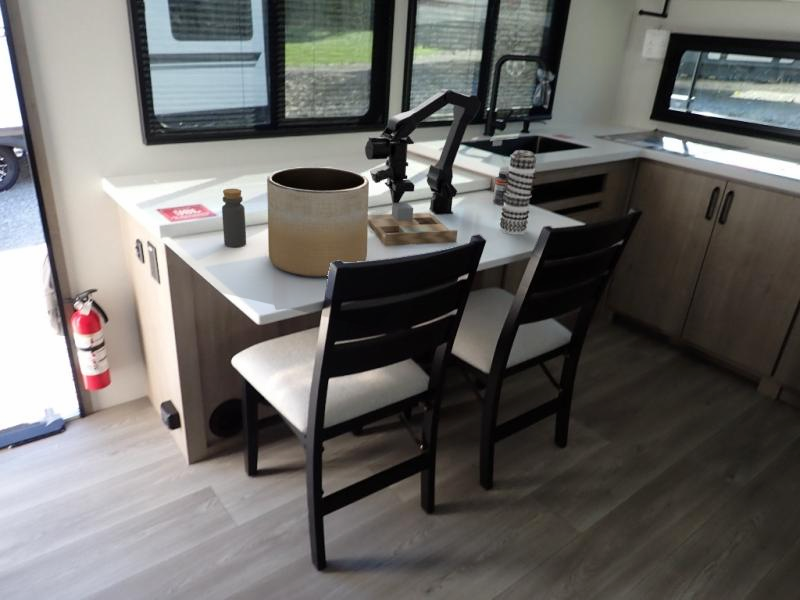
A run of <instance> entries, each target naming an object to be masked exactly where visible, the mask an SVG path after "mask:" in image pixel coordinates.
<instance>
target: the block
mask: <svg viewBox="0 0 800 600" xmlns="http://www.w3.org/2000/svg"><path fill="white" fill-rule="evenodd" d="M391 204H392V205H391V214H392V216H393V217H394V218H395V219H396V220H397V221H411V220H413V213H414V207H413V206H412V205H411V204H409V203H408V202H399V203H391Z"/></svg>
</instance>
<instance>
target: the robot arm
mask: <svg viewBox="0 0 800 600" xmlns="http://www.w3.org/2000/svg"><path fill="white" fill-rule="evenodd" d="M447 105H451V106H453V107H452V108H453V109H452V115H453V116H452V117H453V121H452V123H451V126H450V128H449V132H448V134H447V137H446V140H445V142H444V146H443V149H442V151H441V154H440V157H439V158H438V161H437V163H435V165H433V164H430V166H429V169H428V172H427V174H426V177H427V178H426V182H427V183H426V184H427V185H428V187H429V188H430V191H431V192H432V196H431V197H430V206H429V210H430V211H431V212H432V213H433V214H435V215H445V214H446V215H452V214H454V211H453V210H452V207H453V197H456V195H457V192H458V189H457V188H456V187H454V185H453V184H452V183H453V177H454V175H453V174H454V173H453V165H454V162H455V160H456V157H457V155H458V152H459V150H460V146H461V144H462V140H463V139H464V136H465V133H466V130H467V128H468V125H469V124H470V122H472V121H473V120H474V119H475V117H476V116H477V115H478V114H477V113H478V112H479V110H480V109H481V101H480V98H479V97H478V96H476V95H474V94H470V93H467V92H462V93H457V92H455V91H453V90H452V89H448V88H442V89H440V90H439V91H438V92H437V93H435V94H433V95H432V96H431V97H429V98H428V99H426V100H425V101H423V102H422V103H420V104H419V105H416V106H415V107H414V108H413V109H411V110H408V111H406V112H405V111H404V112H401V113H398V114H396V115H393V116H391V117H390V118H389V119H388V123H387V125H386V127H385V129H384V130H383V131H382V133H381V134H380V136H368V141H366V145H365V146H364V151H365V152H364V153H365V156H366V158H367V160H370V161H371V160H374V161H375V160H385V164H383V165H381V166H378V167H376V168H373V169H371V170H370V171H369V172H370V176H371V179H372V181H373V182H374V183H376V184H378V183H381V181H384V180H386V182H384V185H385V186H386V187H387V188H388V190H389V193H390V198H391V202H392V203H400V201H401V200H402V197H403V195H404V194H405V193H406V192H411V193H412V192H415V184H414V183H413V182H412V181H411V180H409V179H408V174H407V167H409V162H408V161H407V160H408V145H414V144H415V141H414V140H412V137H410V135H411V134H412V133H413V132H414V131H415V130H416V129H417V127H418V125H419V124H421V123H422V122H423V121H425V120H426V119H427V118H429V117H431V116H433V115H435V113H436V112H438V111H440V110H441V109H443V108H444V107H446V106H447ZM392 203H391V204H392Z"/></svg>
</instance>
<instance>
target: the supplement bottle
mask: <svg viewBox="0 0 800 600" xmlns="http://www.w3.org/2000/svg"><path fill="white" fill-rule="evenodd" d="M508 172H509V171H505V170H504V171H503V170H502V171H499V173H498V177H495V183H494V189H493V190H494V191H493V198H492V201H493V203H494V204H496V203H498V204H497V205H501V204H504V202H505V197H506V195H505V193H504V190H505V185H506V184H507V183H506V181H505V179H506V174H507V173H508Z"/></svg>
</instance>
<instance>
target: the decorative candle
mask: <svg viewBox="0 0 800 600" xmlns="http://www.w3.org/2000/svg"><path fill="white" fill-rule="evenodd" d="M509 156H510V163H509V165H508V171H507V172H508V173H507V174H506V179H505V181H506V183H507V184H506V185H505V190H504V193H505V195H506V197H505V202H504V205H503V207H502V208H501V210H502V212H500V213H501V214H500V215H501V217H500V218H499V220H500V222H499V228H500V229H499V231H500V230H501V231H500V232H502V231H503V232H502V233H504V232H505V233H504V234H507V233H508V234H507V235H513V234H521V235H524V234H523V233H525V232H526V233H527V230H526V229H528V226H527V224H528V223H529V222H528V218H529V214H530V209H529V208H530V198H532V196H533V194H532V193H531V192H532V191H533V190H534V187H533V186H534V185H536V184H535V182H533V180H536V179H537V176H536V175H537V173H538V171H536V162H537V159H538V157H536V155H535V154H534V152H532V151H529V150H525V149H524V150H523V149H518V150H517V149H516V150H515V151H514V152H513V153H512V154H510V155H509ZM526 233H525V234H526Z"/></svg>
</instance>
